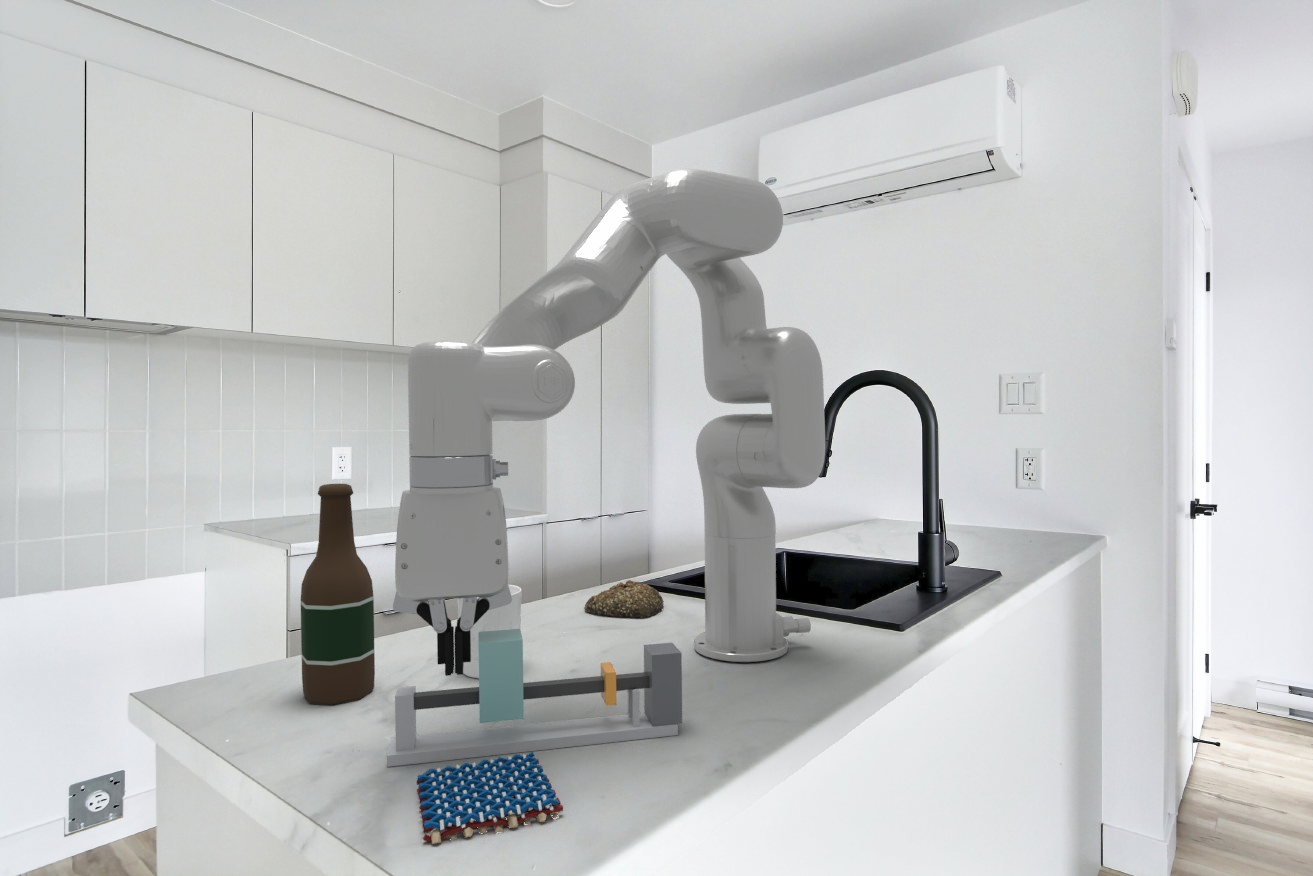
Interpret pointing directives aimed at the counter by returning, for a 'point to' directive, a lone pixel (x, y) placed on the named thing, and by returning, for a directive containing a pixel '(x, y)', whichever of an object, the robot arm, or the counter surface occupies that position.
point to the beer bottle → (337, 609)
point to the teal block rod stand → (654, 722)
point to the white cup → (492, 626)
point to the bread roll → (626, 601)
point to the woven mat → (484, 796)
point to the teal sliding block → (500, 675)
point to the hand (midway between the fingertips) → (454, 670)
